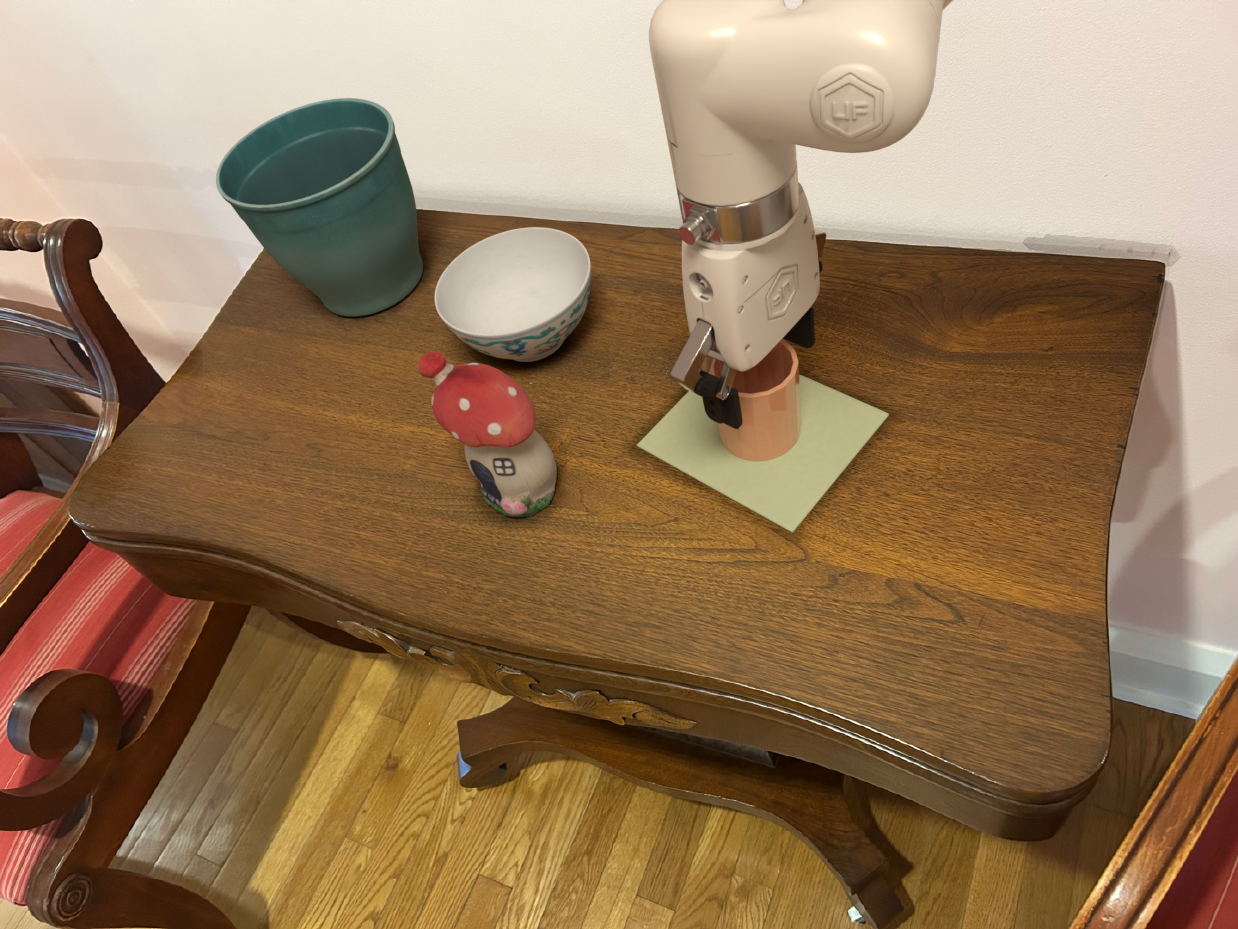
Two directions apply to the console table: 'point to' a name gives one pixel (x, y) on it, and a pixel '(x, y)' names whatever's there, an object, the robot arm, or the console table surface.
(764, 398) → the cup
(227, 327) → the console table surface
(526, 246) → the chinaware
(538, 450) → the decorative ornament
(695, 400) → the mat
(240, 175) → the flower pot
